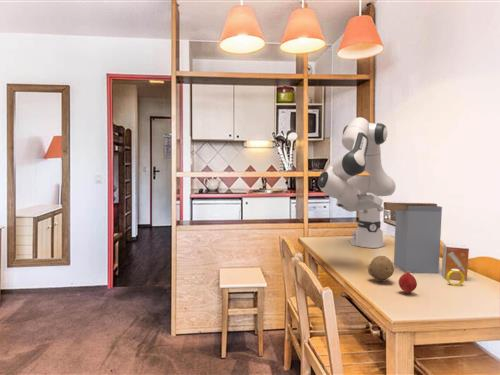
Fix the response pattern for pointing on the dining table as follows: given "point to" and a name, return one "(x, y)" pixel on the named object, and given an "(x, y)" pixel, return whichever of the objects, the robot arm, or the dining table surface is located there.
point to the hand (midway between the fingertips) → (374, 211)
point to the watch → (457, 272)
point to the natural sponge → (381, 268)
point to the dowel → (404, 205)
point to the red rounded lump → (407, 282)
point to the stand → (418, 239)
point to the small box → (455, 261)
